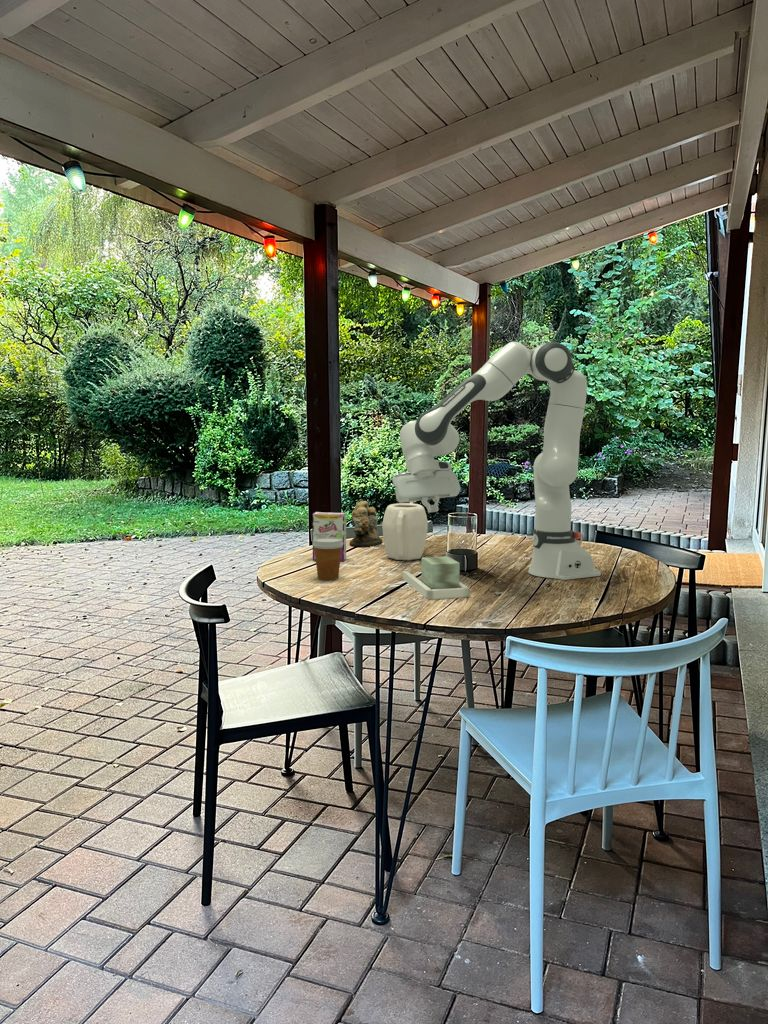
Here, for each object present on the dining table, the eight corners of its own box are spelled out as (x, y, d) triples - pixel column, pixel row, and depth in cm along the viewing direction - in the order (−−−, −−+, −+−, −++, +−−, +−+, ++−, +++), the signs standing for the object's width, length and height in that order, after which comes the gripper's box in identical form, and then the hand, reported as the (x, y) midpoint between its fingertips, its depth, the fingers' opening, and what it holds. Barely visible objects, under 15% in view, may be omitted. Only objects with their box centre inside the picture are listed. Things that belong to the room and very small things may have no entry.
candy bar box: (312, 561, 247) (311, 513, 245) (315, 558, 252) (314, 511, 250) (344, 561, 246) (344, 514, 244) (346, 559, 251) (346, 512, 249)
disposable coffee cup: (315, 582, 216) (315, 542, 214) (310, 575, 225) (309, 537, 223) (346, 580, 218) (346, 541, 217) (340, 573, 228) (339, 536, 226)
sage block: (447, 586, 210) (447, 556, 209) (459, 594, 201) (459, 563, 200) (421, 587, 209) (421, 557, 207) (431, 596, 199) (432, 564, 198)
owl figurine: (372, 549, 270) (372, 504, 268) (343, 547, 274) (342, 503, 271) (387, 541, 287) (387, 498, 285) (359, 539, 291) (359, 497, 288)
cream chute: (440, 577, 223) (440, 569, 223) (469, 597, 199) (469, 588, 198) (402, 579, 220) (402, 571, 220) (427, 600, 196) (427, 591, 195)
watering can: (432, 551, 266) (432, 500, 263) (421, 565, 240) (422, 509, 237) (390, 549, 269) (391, 499, 266) (376, 563, 243) (376, 508, 240)
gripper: (393, 469, 216) (403, 511, 211) (455, 462, 222) (467, 503, 217) (388, 478, 222) (398, 519, 217) (449, 471, 228) (460, 511, 223)
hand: (433, 511), depth 217 cm, fingers closed
